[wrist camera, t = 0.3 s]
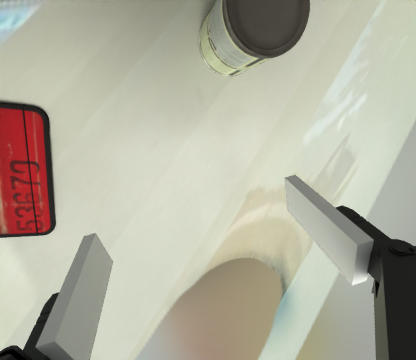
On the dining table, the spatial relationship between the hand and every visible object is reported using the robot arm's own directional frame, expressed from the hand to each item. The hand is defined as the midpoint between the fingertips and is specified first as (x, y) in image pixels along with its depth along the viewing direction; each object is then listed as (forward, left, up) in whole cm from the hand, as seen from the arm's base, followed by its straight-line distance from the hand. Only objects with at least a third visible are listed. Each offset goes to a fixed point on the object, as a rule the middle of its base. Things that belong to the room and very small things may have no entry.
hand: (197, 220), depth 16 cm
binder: (-9, -25, -27) cm, 38 cm away
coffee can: (-12, +17, -27) cm, 34 cm away
